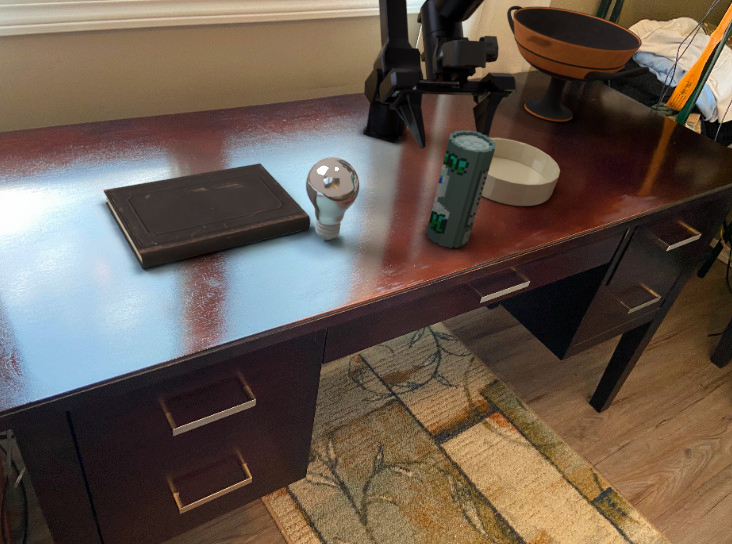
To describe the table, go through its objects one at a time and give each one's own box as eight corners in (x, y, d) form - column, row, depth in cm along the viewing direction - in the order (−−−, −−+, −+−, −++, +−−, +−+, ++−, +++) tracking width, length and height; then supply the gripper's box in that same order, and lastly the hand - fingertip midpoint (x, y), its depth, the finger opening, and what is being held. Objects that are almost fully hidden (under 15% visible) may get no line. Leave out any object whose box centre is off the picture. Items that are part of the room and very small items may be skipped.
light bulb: (332, 260, 81) (342, 180, 73) (291, 239, 83) (296, 159, 75) (361, 237, 86) (373, 161, 78) (320, 218, 88) (328, 142, 80)
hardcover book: (105, 204, 83) (103, 189, 82) (260, 176, 94) (260, 162, 93) (143, 271, 74) (141, 256, 72) (309, 231, 85) (311, 217, 84)
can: (429, 220, 92) (451, 126, 82) (469, 229, 91) (496, 136, 82) (424, 241, 87) (447, 145, 77) (466, 251, 87) (494, 155, 77)
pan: (450, 187, 100) (455, 166, 98) (470, 149, 112) (476, 129, 109) (545, 216, 97) (554, 194, 95) (556, 174, 109) (564, 154, 107)
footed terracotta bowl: (452, 83, 137) (471, -1, 125) (533, 75, 149) (558, -3, 137) (566, 158, 115) (602, 64, 104) (650, 141, 127) (691, 56, 116)
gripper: (399, 3, 76) (411, 127, 75) (532, 13, 81) (544, 128, 80) (373, 46, 86) (383, 154, 85) (492, 52, 92) (502, 154, 91)
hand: (453, 147), depth 85 cm, fingers open, 9 cm apart
